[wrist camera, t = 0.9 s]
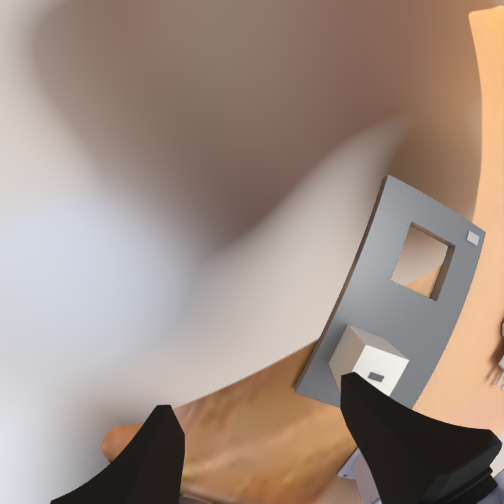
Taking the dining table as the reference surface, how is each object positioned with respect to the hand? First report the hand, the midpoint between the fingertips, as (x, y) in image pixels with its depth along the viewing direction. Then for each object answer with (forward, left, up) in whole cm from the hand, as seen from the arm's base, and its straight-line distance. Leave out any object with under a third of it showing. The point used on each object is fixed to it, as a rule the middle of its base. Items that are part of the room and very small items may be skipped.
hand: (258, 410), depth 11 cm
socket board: (-11, -6, -16) cm, 20 cm away
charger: (-8, -1, -14) cm, 17 cm away
